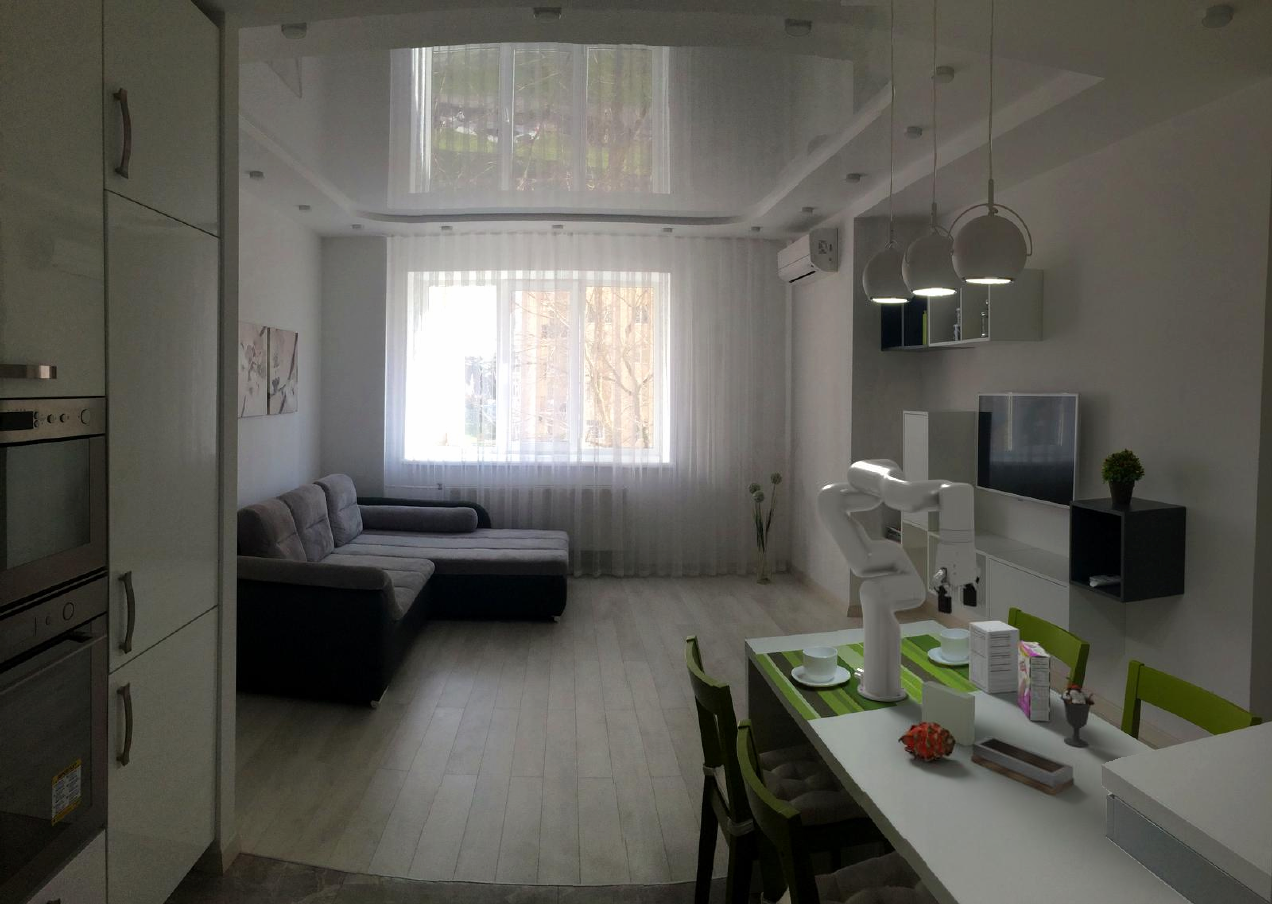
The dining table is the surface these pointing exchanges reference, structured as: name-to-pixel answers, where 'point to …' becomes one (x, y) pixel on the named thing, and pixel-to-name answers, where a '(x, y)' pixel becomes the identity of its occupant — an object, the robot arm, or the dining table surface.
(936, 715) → the pale green rectangular block
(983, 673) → the supplement box
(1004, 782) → the dining table surface
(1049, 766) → the open rectangular box
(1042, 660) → the candy bar box
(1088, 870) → the dining table surface
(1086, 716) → the sundae
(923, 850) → the dining table surface
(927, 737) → the dragon fruit
